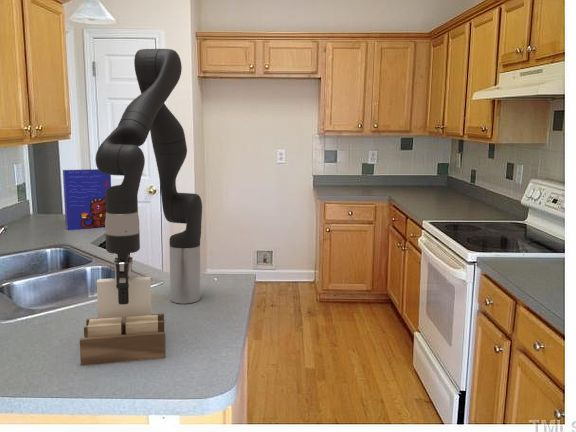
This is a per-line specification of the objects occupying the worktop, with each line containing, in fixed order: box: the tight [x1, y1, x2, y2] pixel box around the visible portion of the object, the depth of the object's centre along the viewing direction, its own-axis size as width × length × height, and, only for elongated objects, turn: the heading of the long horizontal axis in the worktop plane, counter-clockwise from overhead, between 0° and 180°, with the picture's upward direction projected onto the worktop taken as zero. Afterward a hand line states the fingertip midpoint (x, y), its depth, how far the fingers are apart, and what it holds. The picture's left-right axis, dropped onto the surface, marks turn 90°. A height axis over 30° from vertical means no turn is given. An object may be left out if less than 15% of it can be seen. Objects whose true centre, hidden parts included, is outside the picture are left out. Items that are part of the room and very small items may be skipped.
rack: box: [79, 313, 166, 366], centre depth 118 cm, size 13×18×7 cm
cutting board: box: [96, 276, 152, 323], centre depth 121 cm, size 2×12×16 cm, turn 105°
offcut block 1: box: [87, 317, 123, 338], centre depth 115 cm, size 4×7×8 cm, turn 105°
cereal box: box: [62, 168, 112, 231], centre depth 259 cm, size 22×6×30 cm, turn 122°
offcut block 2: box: [126, 315, 158, 335], centre depth 117 cm, size 4×7×8 cm, turn 105°
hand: (124, 297), depth 120 cm, fingers open, 8 cm apart
